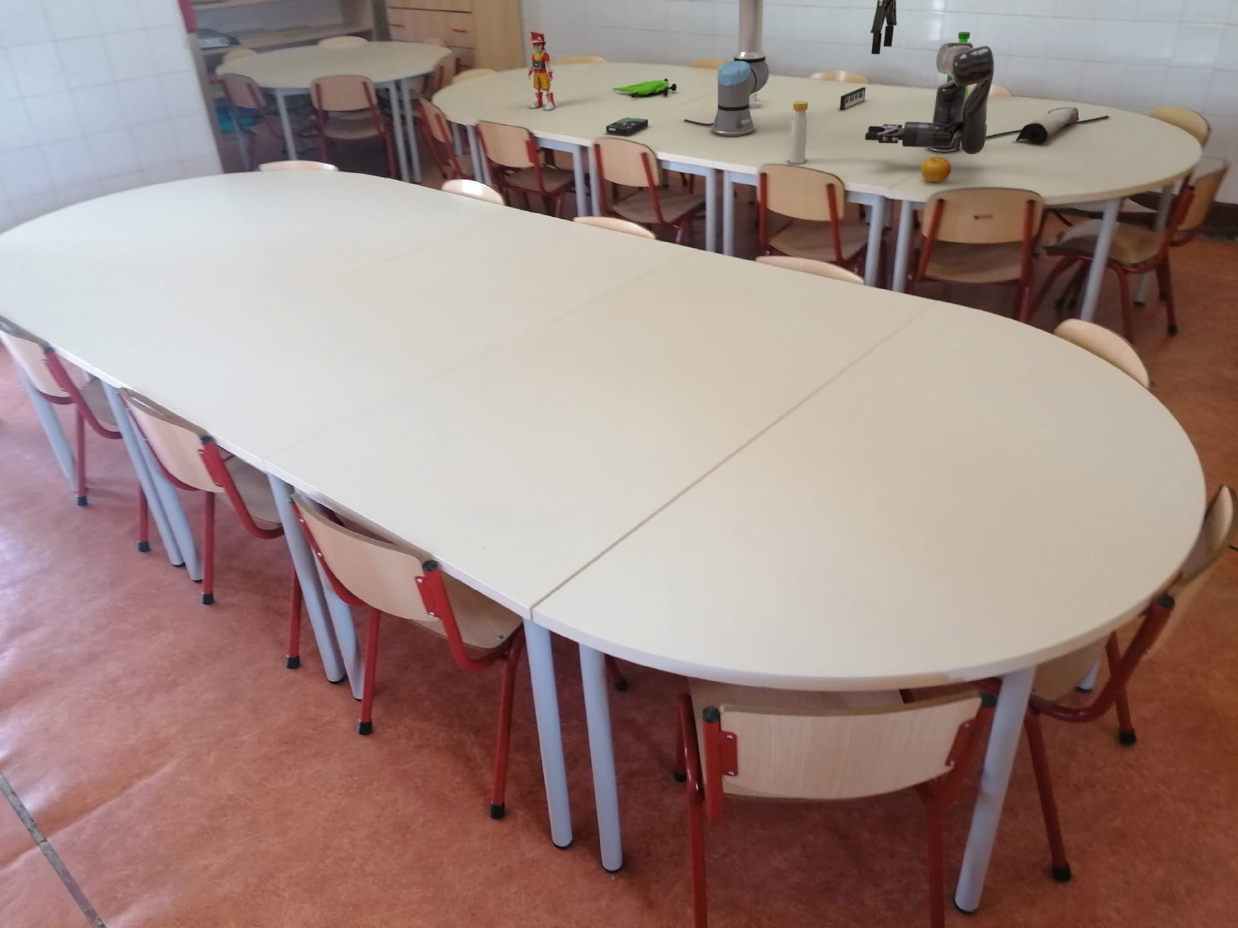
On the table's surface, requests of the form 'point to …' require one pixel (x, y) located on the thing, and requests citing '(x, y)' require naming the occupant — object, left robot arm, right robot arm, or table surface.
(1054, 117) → the rolled mat
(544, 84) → the toy
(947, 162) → the fruit
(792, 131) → the bottle
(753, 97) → the anatomical model
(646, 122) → the disk drive
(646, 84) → the toy
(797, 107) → the cap
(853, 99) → the midi keyboard
